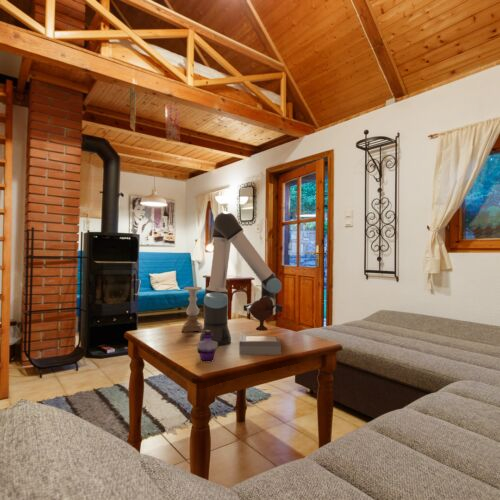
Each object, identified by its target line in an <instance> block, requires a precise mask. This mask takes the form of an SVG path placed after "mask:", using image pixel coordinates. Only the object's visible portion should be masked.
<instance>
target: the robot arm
mask: <svg viewBox="0 0 500 500" xmlns="http://www.w3.org/2000/svg"><path fill="white" fill-rule="evenodd" d="M212 229H213V230H212V236H211V237H212V240H214V244H213V252H212V253H213V254H212V259H211V260H212V261H211V267H210V268H211V270H210V275H209V277H210V279H209V285H208V286H207V287H206V288H205V295H204V298H203V326H202V332H200V333H201V334H200V337H199V341H204V338H203V337H202V334H203V333H204V330H211V333H213V337H212V338H211V340H212V341H216V342H218V344H217V346H222V345H223V346H224V345H228V344H230V343H231V341H232V337H231V333H230V330H229V326H228V325H229V324H228V322H229V321H228V319H229V318H228V315H229V314H228V313H229V310H228V309H229V306H228V305H229V296H228V293H229V292H228V289H227V288H226V286H227V279H228V278H227V277H228V270H229V259H230V252H231V245H233V247H234V248H235V250H237V252H238V253H239V255H240V256H241V258H242V259H243V260H244V261H245V263H247V266H249V268H250V269H251V271H252V272H253V273H254V274H255V276H256V278H257V279H258V280H259V281H260V283H261V286H260V287H261V290H260V292H261V294H260V295H261V297H260V298H262V297H267V298H268V299H269V300H270V302H271V307H272V308H273V314H272V316H274V315H275V316H276V313H283V306H282V305H280V304H279V303H277V301H276V300H277V299H276V294H278V293H279V292H280V291H281V290H282V282H281V281H280V279H278V277H276V273H275V272H273V271H272V270H271V269H270V267H269V265H268V264H267V263H266V261H264V259H263V257H261V255H260V254H259V252H258V251H257V250H256V248H255V246H253V244H252V243H251V241H250V240H249V239H248V237H247V236H246V234H244V229H243V227H242V226H241V224H240V222H239V221H238V219H237V218H236V216H235V215H234V214H233V213H232V212H229V211H223V212H220V213H218V214H217V215H216V216H215V218H214V221H213V228H212ZM253 303H254V302H251V303H247V304H244V305H243V311H244V312H246V314H247V315H249V314H251V312H250V308H252V304H253Z"/></svg>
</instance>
